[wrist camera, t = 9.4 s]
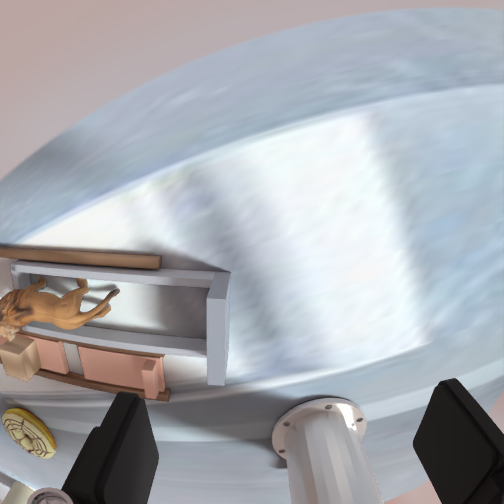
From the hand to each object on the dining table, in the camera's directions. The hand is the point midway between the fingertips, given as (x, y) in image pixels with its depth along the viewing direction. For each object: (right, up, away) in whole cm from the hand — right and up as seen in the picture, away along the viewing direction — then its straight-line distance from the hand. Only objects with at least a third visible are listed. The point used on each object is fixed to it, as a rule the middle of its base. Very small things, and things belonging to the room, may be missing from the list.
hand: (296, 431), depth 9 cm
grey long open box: (-16, 0, +23) cm, 29 cm away
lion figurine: (-23, 0, +24) cm, 33 cm away
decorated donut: (-39, -25, +30) cm, 55 cm away
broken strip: (-24, -8, +25) cm, 36 cm away
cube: (-31, -8, +24) cm, 40 cm away
